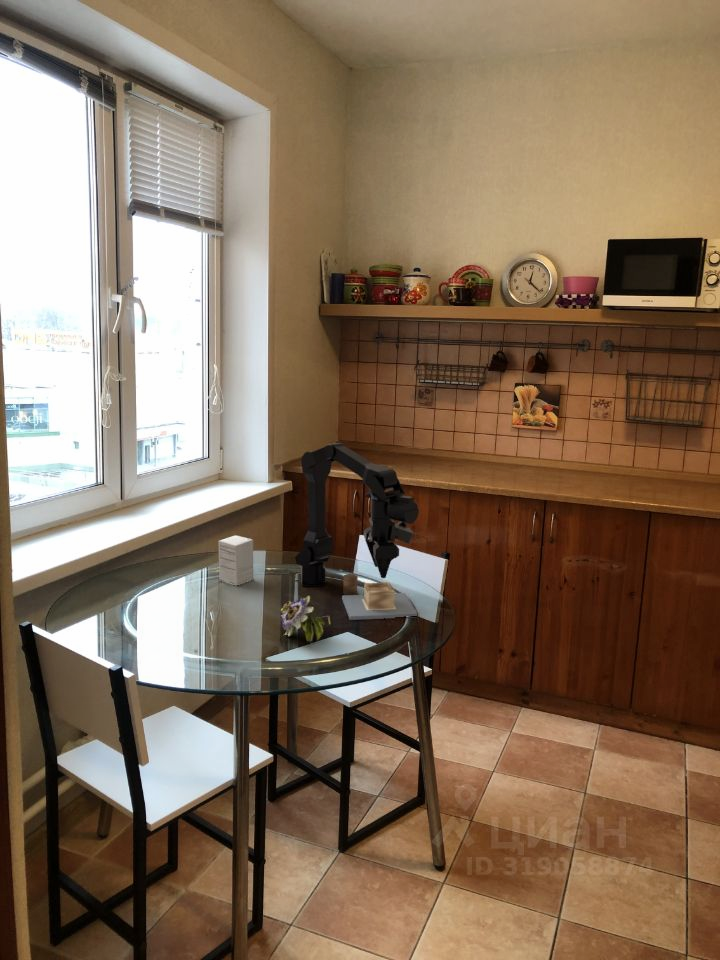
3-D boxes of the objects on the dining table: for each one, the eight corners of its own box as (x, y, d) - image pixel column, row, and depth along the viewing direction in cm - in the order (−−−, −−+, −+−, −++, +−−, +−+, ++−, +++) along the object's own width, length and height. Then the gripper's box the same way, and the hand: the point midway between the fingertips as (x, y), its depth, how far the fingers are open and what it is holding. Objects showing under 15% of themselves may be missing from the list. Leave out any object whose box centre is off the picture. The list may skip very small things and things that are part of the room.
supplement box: (236, 574, 234) (235, 534, 231) (254, 580, 230) (254, 539, 227) (218, 581, 228) (217, 540, 225) (236, 587, 224) (236, 545, 221)
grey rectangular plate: (349, 619, 202) (350, 615, 202) (342, 598, 217) (342, 595, 216) (417, 617, 205) (417, 613, 205) (405, 596, 219) (405, 592, 219)
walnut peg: (344, 595, 219) (344, 578, 218) (342, 590, 223) (342, 574, 222) (358, 595, 220) (358, 578, 219) (356, 590, 224) (356, 573, 223)
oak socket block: (368, 609, 207) (368, 592, 206) (364, 599, 213) (364, 583, 212) (394, 608, 208) (394, 591, 207) (389, 598, 215) (389, 582, 213)
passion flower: (287, 656, 193) (269, 611, 195) (325, 640, 198) (307, 597, 200) (300, 647, 183) (280, 601, 186) (340, 631, 188) (320, 585, 191)
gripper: (419, 525, 197) (417, 583, 201) (404, 506, 215) (402, 560, 219) (376, 526, 196) (375, 584, 199) (364, 507, 214) (363, 561, 217)
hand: (380, 572), depth 208 cm, fingers open, 9 cm apart
